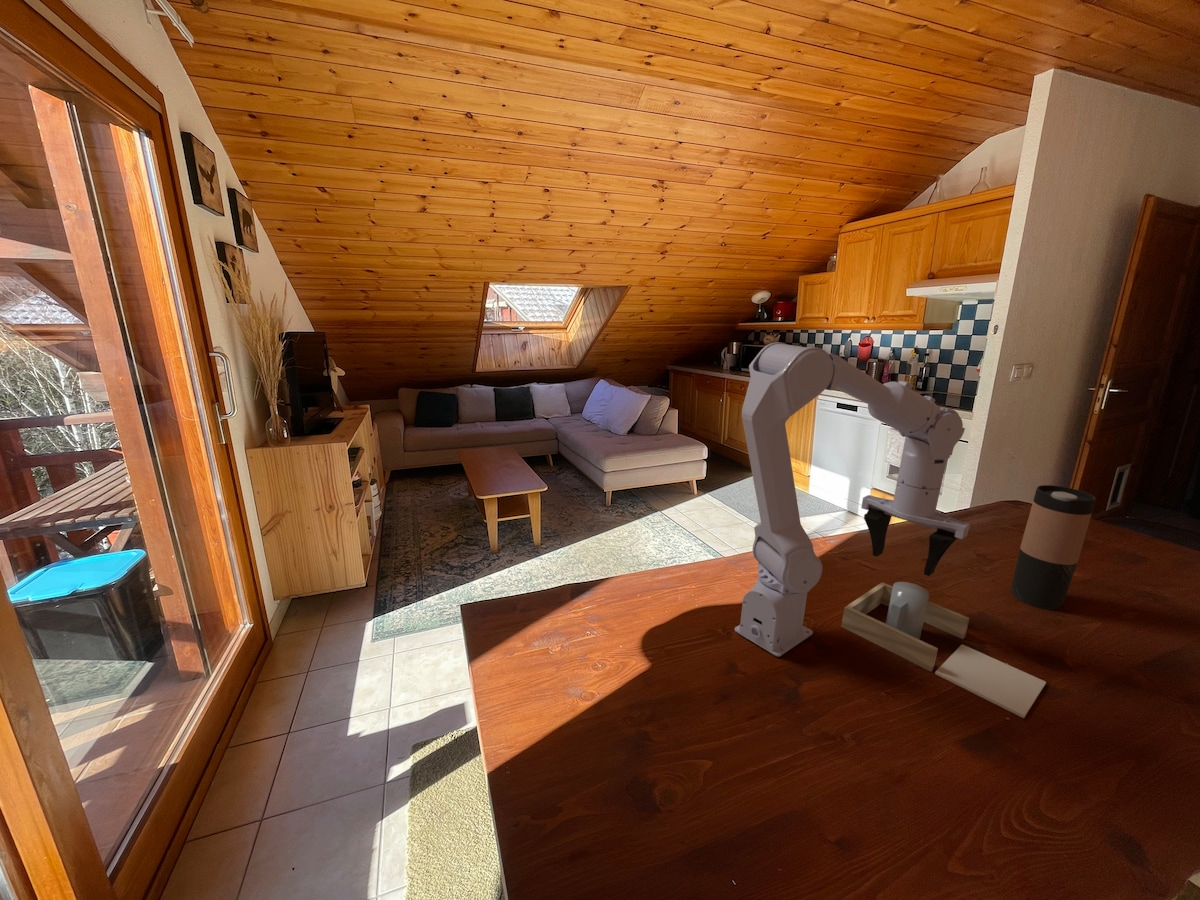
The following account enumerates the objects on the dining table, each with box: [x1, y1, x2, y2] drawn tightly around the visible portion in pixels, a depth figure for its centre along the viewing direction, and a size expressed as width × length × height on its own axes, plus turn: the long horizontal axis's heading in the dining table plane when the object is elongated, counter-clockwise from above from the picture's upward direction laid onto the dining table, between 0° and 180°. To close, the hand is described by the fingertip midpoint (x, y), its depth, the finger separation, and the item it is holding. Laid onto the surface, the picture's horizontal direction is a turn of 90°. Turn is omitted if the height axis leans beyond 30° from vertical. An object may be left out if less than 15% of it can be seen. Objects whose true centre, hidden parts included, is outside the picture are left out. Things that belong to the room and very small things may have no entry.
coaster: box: [934, 644, 1047, 719], centre depth 71 cm, size 10×10×1 cm
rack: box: [841, 582, 970, 672], centre depth 80 cm, size 13×13×4 cm
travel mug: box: [1010, 484, 1097, 611], centre depth 88 cm, size 8×8×20 cm
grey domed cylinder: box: [885, 581, 930, 640], centre depth 79 cm, size 7×5×8 cm
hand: (902, 563), depth 82 cm, fingers open, 7 cm apart
